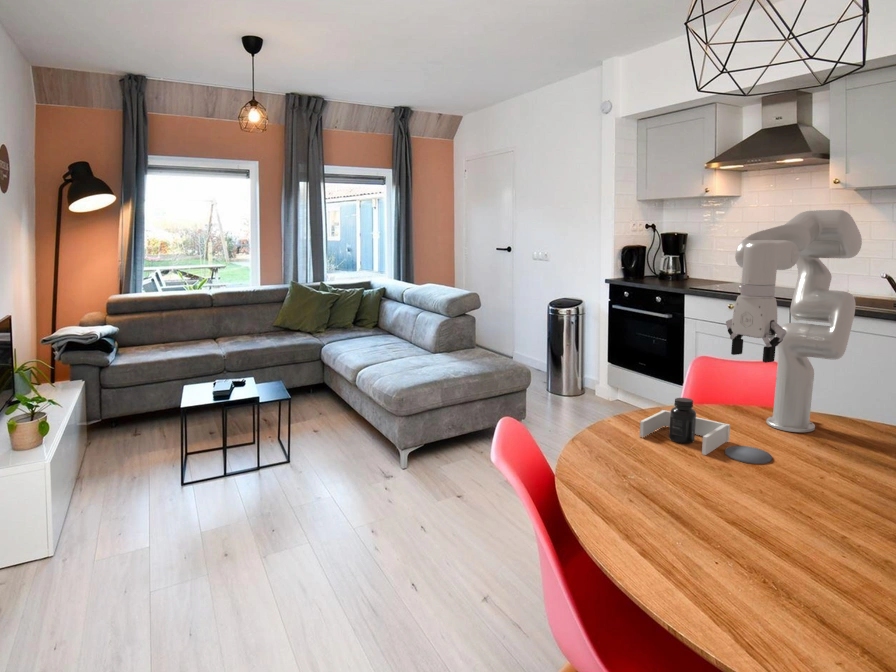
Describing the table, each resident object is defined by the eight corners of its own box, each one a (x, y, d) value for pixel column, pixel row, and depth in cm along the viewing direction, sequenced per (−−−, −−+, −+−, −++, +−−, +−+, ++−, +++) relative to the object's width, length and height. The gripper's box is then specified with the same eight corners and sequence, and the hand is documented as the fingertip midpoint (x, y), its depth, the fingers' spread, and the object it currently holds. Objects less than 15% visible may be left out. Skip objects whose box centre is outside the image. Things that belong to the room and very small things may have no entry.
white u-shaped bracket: (661, 425, 175) (662, 409, 174) (728, 441, 160) (730, 424, 159) (637, 437, 165) (638, 420, 164) (707, 455, 150) (708, 437, 150)
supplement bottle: (699, 443, 159) (702, 402, 157) (676, 445, 158) (679, 404, 156) (686, 435, 166) (688, 395, 164) (664, 436, 165) (666, 397, 163)
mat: (734, 444, 158) (734, 442, 158) (777, 455, 150) (777, 453, 150) (718, 455, 150) (718, 453, 150) (763, 467, 142) (763, 465, 142)
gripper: (718, 289, 148) (714, 352, 152) (776, 295, 132) (770, 366, 135) (740, 287, 151) (736, 350, 154) (800, 293, 135) (793, 363, 138)
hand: (751, 358), depth 145 cm, fingers open, 9 cm apart
